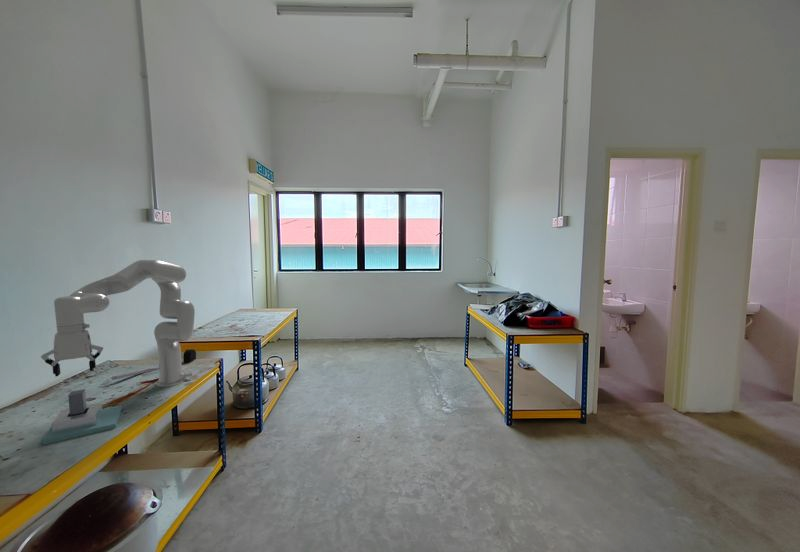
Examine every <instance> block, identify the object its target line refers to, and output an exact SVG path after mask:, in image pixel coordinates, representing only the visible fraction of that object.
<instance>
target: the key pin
mask: <svg viewBox="0 0 800 552" xmlns="http://www.w3.org/2000/svg"><path fill="white" fill-rule="evenodd" d="M86 396H87V395H86V389H79V390H74V391H70V392H69V394H68V396H67V397H68V406H69V407H68V409H70V416H75V415H80V414H85V413H87V406H86V405H87V397H86Z"/></svg>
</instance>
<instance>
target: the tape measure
mask: <svg viewBox="0 0 800 552" xmlns="http://www.w3.org/2000/svg"><path fill="white" fill-rule="evenodd" d="M201 355H202V354H201ZM196 359H197V352H196V350H195V349H191V348H190V349H186V350H185V351H184V352H183V364H191V363H192V362H193V361H195V360H196Z"/></svg>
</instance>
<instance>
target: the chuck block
mask: <svg viewBox="0 0 800 552" xmlns="http://www.w3.org/2000/svg"><path fill="white" fill-rule="evenodd" d="M86 406H87V413H85V414H80V415H75V416H70V409H69V408H66V409H61V410H60V412H59V413H58V414H57V416H55V418H54V420H53V421H52V423H51V426H50V428H49V429H48V431H47V432H46V433H45V435H44V436H43V438H42V439H41V443H42V446H43V445H47V444H51V443H52V444H53V443H58V442H62V441H65V440H70V439H73V438H77V437H78V438H79V437H83V436H86V435H90V434H91V433H92V434H95V432H96V433H99V432H100V433H101V432H103V431H104V430H105V431H109V430H112V429H113V430H114V429H116V428H117V426H116V425H117V424H118V422H119V419H120V418H121V417H120V416H121V414H122V412H121V411H123V410H124V409H123V404H120V405H116V406H111V407H106V408H105V407H104V408H103V403H102V402H97V403H96V402H95V403H91V404H86Z"/></svg>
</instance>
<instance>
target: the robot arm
mask: <svg viewBox="0 0 800 552" xmlns="http://www.w3.org/2000/svg"><path fill="white" fill-rule="evenodd" d="M186 276H187V272H186V269H184V267H182V266H181V265H178V264H174V263H170V262H166V261H163V260H159V259H157V260H156V259H139V260H136V261H135V262H133V263H131V264H129V265H127V266H126V267H124V268H123V269H121V270H120V271H117V272H116V273H115V274H112V275H110V276H107V277H104V278H101V279H99V280H95V281H93V282H89V283H88V284H86V285H84V286H82V287H80V288H78V289H77V290H75V291H73V292H72V293H70V294H69V295H67V296H59V297H57V298H55V300H54V301H53V302H54V303H53V304H54V305H53V306H54V313H55V314H54V315H55V323H56V333H55V334H54V338H53V349H52V350H50V351H48V352H45V353H43V354H42V355H41V356H40V358H41V359H42V360H43V361H44V362H45V364H47V365H50V367H52V374H53V375H54V376H55V377H58V376H60V374H61V367H60V366H61V365H60V363H59V362H60V361H66V360H67V361H68V360H74V359H75V360H76V359H80V358H82V359H84V358H86V359H88V360H89V361H88V366H89V371H90V372H93V371H94V370H95V368H97V367H96V365H97V364H96V359H97V358H98V357H99V356H100V355H101V354H102V352H103V350H104V347H103V346H99V345H95V344H92V341H91V340H92V339H91V336H90V333H89V331H88V328H90V326H91V325H90V324H89V323H85V318H84V314H88V313H99V312H103V311H105V310H106V309H107V308H108V307H109V305H110V299H109V297H108V296H112V295H117V294H121V293H125V292H129V291H130V290H132V289H134V287H136V286H138V285H139V284H141V283H142V282H143V281H146V280H147V279H151V280H153V282H155V283H156V285H157V286H158V288H159V290H160V298H159V299H160V300H159V315H160V317H161V318H163V319H169V321H162V322H160V323H158V324H157V325H156V326H155V328H154V330H153V333H154V334H153V335H154V339H155V341H156V346H157V359H158V360H157V361H158V367H159V369H158V371H159V380H158V381H156V383H155V385H156V387H159V388H168V387H169V388H170V387H174V386H178V385H180V384H182V383H184V382H185V381H186V380H187V377H193V371H192V372H191V371H188V372H187V371H186V372H184V370H183V365H182V353H181V352H182V350H181V349H182V348H181V344H180V342H187V341H189V340H190V339H191V337H192V336H193V334H194V327H195V326H194V324H195V315H196V314H195V312H196V311H195V306H194V304H193V303H192V302H191V301H188V300H181V299H182V298H181V297H182V290H181V287H180V285H179V284H180V283H182V282H184V280H186V278H187V277H186ZM170 320H176V321H170ZM93 350H96V353H95V354H93V353H92V352H93ZM51 355H53V359H52V358H50V357H49V356H51Z"/></svg>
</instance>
